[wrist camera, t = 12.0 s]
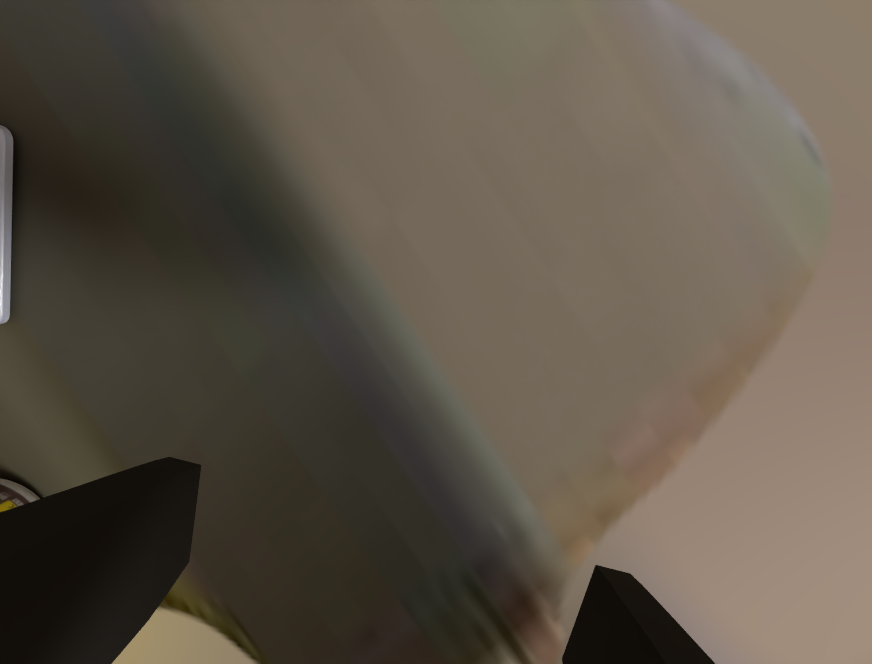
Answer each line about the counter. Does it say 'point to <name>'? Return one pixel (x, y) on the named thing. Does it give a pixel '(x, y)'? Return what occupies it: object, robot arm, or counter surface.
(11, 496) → the supplement bottle
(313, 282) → the counter surface
